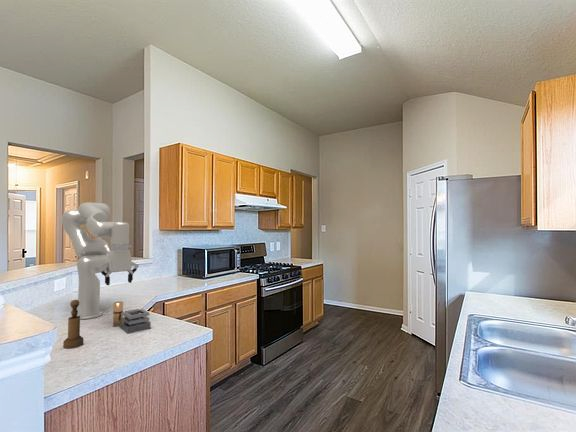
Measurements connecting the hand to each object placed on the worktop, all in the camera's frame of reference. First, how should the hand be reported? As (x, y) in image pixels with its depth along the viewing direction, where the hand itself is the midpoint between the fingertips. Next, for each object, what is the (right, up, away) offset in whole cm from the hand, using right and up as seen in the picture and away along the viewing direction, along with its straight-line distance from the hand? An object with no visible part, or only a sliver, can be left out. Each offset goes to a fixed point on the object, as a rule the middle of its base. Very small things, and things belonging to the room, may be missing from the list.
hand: (119, 283), depth 148 cm
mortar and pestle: (-4, -19, -25) cm, 32 cm away
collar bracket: (+10, -20, -4) cm, 22 cm away
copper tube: (0, -20, -1) cm, 20 cm away
